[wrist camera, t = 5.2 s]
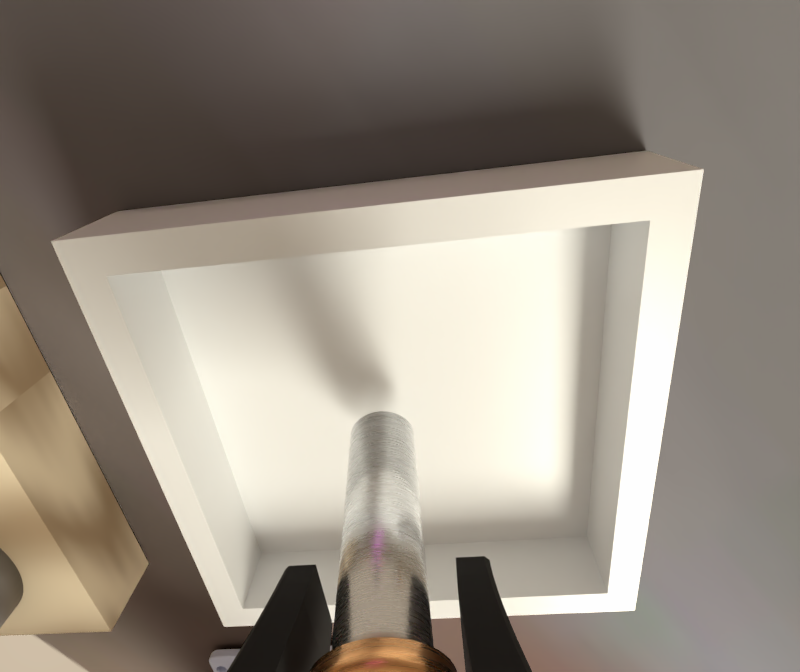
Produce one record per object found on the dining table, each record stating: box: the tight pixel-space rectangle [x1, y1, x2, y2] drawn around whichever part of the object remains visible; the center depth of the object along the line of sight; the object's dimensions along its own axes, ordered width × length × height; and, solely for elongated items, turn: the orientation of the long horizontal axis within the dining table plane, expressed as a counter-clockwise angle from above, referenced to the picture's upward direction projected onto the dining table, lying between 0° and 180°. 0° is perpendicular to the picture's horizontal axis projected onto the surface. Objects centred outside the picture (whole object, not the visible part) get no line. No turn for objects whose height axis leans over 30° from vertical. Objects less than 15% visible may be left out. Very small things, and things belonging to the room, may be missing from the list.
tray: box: [51, 151, 704, 627], centre depth 16 cm, size 15×15×3 cm
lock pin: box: [310, 411, 457, 672], centre depth 12 cm, size 3×3×8 cm
